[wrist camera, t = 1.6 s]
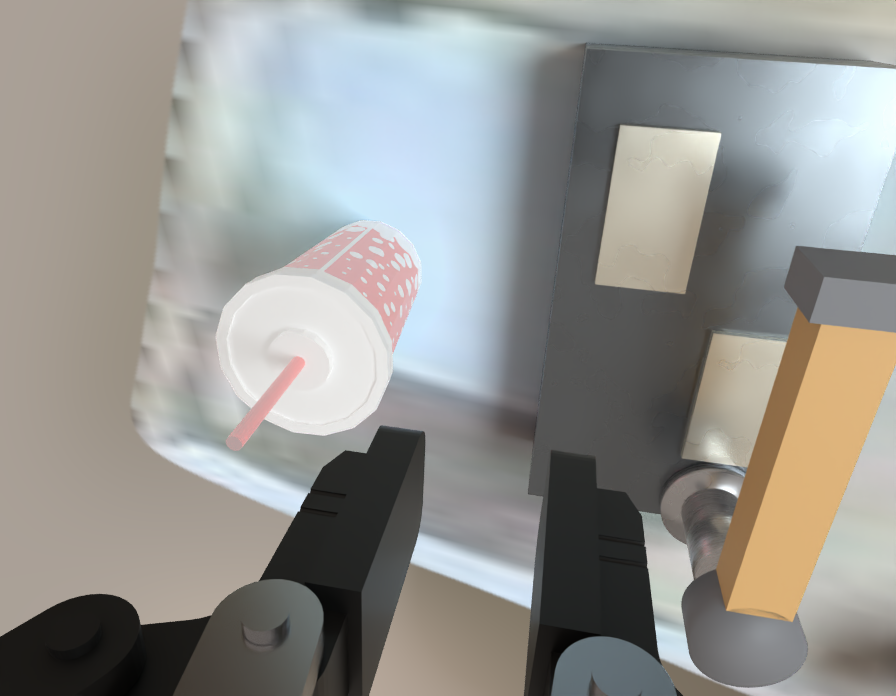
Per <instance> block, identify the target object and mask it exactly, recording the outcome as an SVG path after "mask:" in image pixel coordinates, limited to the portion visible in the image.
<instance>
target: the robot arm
mask: <svg viewBox="0 0 896 696" xmlns="http://www.w3.org/2000/svg"><path fill="white" fill-rule="evenodd" d="M424 461H425V433H424V431H417V430H410V429H403V428H396V427H389V426H380V427H379V429H378V431H377V433H376V435H375V437H374V439H373V441H372V443H371V445H370V447H369V449H368V451H367V453H359V452H353V451H346V450H345V451H344V452H343V453H341V454H340V455H339V456H337V457H336V458H335V459H333V460H332V461H331V462H329V463H328V464H327V465H325V466H324V467H323V468H322V470H321V472H320V473H319V475H318V477H317V479H316V480H315V482H314V484H313V486H312V488H311V491H310V493H308V495H307V496H306V498H305V500H304V502H303V504H302V505H301V509H300V512H298V513H297V514H296V516H295V518H294V520H293V521H292V523H291V525H290V527H289V529H288V531H287V532H286V534H285V536H284V537H283V539H282V541H281V543H280V545H279V546H278V548H277V550H276V552H275V554H274V555H273V557H272V559H271V561H270V563H269V564H268V566H267V568H266V570H265V571H264V573H263V575H262V577H261V578H260V580H259V581H258V582H254V583H251V584H248V585H245V586H243V587H241V588H239V589H237V590H236V591H234V592H233V593H231V594H230V595H228V596H227V597H226V598H225V599H224V600H223V601H222V602H221V603H220V604H219V605H218V606H217V607H216V609H215V610H214V612H213V614H212V615H211V616H207V617H204V618H199V619H193V620H186V621H175V622H166V623H155V624H147V625H141V624H140V620H139V616H138V614H137V611H136V609H135V608H134V607H133V606H132V604H130V603H129V602H127V601H126V600H124V599H122V598H120V597H117V596H113V595H107V594H90V595H85V596H79V597H76V598H72V599H69V600H66V601H64V602H61V603H59V604H57V605H55V606H53V607H51V608H49V609H47V610H45V611H44V612H42V613H40V614H38V615H37V616H35V617H33V618H32V619H30V620H28V621H27V622H25V623H23V624H21V625H20V626H18V627H16V628H15V629H13V630H11V631H9V632H8V633H6V634H4V635H3V636H1V637H0V696H369V693H370V690H371V687H372V684H373V680H374V677H375V674H376V671H377V667H378V664H379V661H380V658H381V654H382V651H383V647H384V645H385V641H386V638H387V635H388V632H389V629H390V625H391V622H392V619H393V616H394V612H395V609H396V606H397V603H398V599H399V596H400V593H401V590H402V586H403V583H404V580H405V577H406V573H407V570H408V567H409V564H410V560H411V557H412V554H413V551H414V547H415V544H416V541H417V537H418V533H419V528H420V522H421V515H422V506H423V484H424ZM644 544H645V539H644V530H643V522H642V516H641V514H640V513H639V511H638V510H637V508H636V507H635V505H634V504H633V502H632V501H631V499H630V498H629V496H628V495H627V493H626V492H620V491H614V490H607V489H600V488H597V476H596V457H595V456H591V455H584V454H577V453H570V452H563V451H556V450H550V455H549V461H548V468H547V475H546V482H545V489H544V495H543V502H542V509H541V516H540V523H539V530H538V539H537V547H536V557H535V568H534V580H533V592H532V604H531V617H530V628H529V629H530V630H529V641H528V652H527V665H526V676H525V677H526V678H525V690H524V696H683V695H682V694H681V693H680V692H679V691H678V690H677V689H676V688H675V686H674V684H673V682H672V680H671V678H670V677H669V675H668V673H667V672H666V671H665V669H664V668H663V667H662V664H661V661H660V658H659V654H658V648H657V640H656V631H655V623H654V614H653V606H652V598H651V589H650V581H649V572H648V568H647V556H646V547H644Z"/></svg>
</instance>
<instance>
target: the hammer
mask: <svg viewBox="0 0 896 696" xmlns="http://www.w3.org/2000/svg"><path fill="white" fill-rule="evenodd" d="M784 288H785V290H786V291H787V293H788V294H789V295H790V297H791V298H792V300H793V301H794V302H795V304H796V305H797V306H798V308H797V311H796V314H795V317H794V320H793V324H792V327H791V330H790V333H789V336H788V340H787V343H786V346H785V349H784V352H783V356H782V359H781V362H780V365H779V369H778V372H777V375H776V378H775V381H774V385H773V388H772V391H771V394H770V397H769V401H768V404H767V407H766V410H765V413H764V417H763V420H762V423H761V426H760V430H759V433H758V436H757V439H756V442H755V446H754V449H753V452H752V455H751V458H750V462H749V465H748V468H747V471H746V474H745V478H744V481H743V484H742V487H741V491H740V494H739V497H738V500H737V503H736V507H735V510H734V513H733V516H732V519H731V523H730V526H729V529H728V532H727V535H726V539H725V542H724V545H723V548H722V552H721V555H720V558H719V561H718V564H717V568H716V569H715V570H712V571H710V572H707V573H705V574H703V575H701V576H699V577H698V578H696V579H695V580H694V581H693V582H692V583H691V584H690V585H689V586H688V587H687V589H686V590H685V592H684V594H683V597H682V606H681V607H682V613H683V619H684V625H685V631H686V637H687V643H688V649H689V654H690V657H691V660H692V661H693V663H694V664H695V666H696V667H697V668H698V669H699V670H700V671H701V672H702V673H704V674H705V675H706V676H708V677H710V678H711V679H713V680H715V681H718V682H720V683H723V684H726V685H731V686H736V687H748V688H749V687H763V686H768V685H772V684H775V683H778V682H781V681H783V680H785V679H787V678H789V677H790V676H792V675H793V674H794V673H796V672H797V671H798V670H799V669H800V668H801V666H802V665H803V663H804V662H805V660H806V657H807V652H808V645H807V641H806V637H805V635H804V632H803V629H802V626H801V623H800V621H799V618H798V615H797V610H798V607H799V605H800V602H801V600H802V597H803V595H804V592H805V590H806V587H807V585H808V582H809V580H810V577H811V575H812V572H813V570H814V567H815V565H816V562H817V560H818V557H819V555H820V552H821V550H822V547H823V545H824V542H825V540H826V537H827V535H828V532H829V530H830V527H831V525H832V522H833V520H834V517H835V515H836V512H837V510H838V507H839V505H840V502H841V500H842V497H843V495H844V492H845V490H846V487H847V485H848V482H849V480H850V477H851V475H852V472H853V470H854V467H855V465H856V462H857V460H858V457H859V455H860V452H861V450H862V447H863V445H864V442H865V440H866V437H867V435H868V432H869V430H870V427H871V425H872V422H873V420H874V417H875V415H876V412H877V410H878V407H879V405H880V402H881V400H882V397H883V395H884V392H885V390H886V387H887V385H888V382H889V380H890V377H891V375H892V372H893V370H894V367H895V365H896V255H886V254H876V253H866V252H856V251H846V250H836V249H826V248H815V247H805V246H796V247H795V251H794V254H793V257H792V261H791V264H790V268H789V271H788V274H787V278H786V281H785V284H784Z"/></svg>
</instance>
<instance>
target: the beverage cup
mask: <svg viewBox="0 0 896 696" xmlns="http://www.w3.org/2000/svg"><path fill="white" fill-rule="evenodd" d="M420 284H421V261H420V259H419V257H418V254H417V252H416V250H415V247H414V245H413V244H412V243H411V242H410V241H409V240H408V239H407V238H406V237H405V236H404V235H403V234H402V233H401V231H400V230H398V229H396V228H394V227H392V226H389V225H387V224H385V223H383V222H381V221H367V220H360V221H357V222H354V223H352V224H349V225H346V226H343V227H342V228H340V229H339V230H337V231H336V232H334V233H333V234H331V235H330V236H329V237H327V238H326V239H324V240H323V241H321V242H320V243H318V244H317V245H315V246H314V247H312V248H311V249H309V250H308V251H306V252H305V253H303V254H302V255H301V256H299V257H298V258H296V259H295V260H293V261H292V262H290V263H289V264H287V265H286V266H284V267H283V268H280V269H277V270H274V271H272V272H269V273H266V274H263V275H260V276H258V277H255V278H254V279H253V280H252V281H250V282H247V283H246V284H245V285H244V286H243V287H242V288H241V289H240V290H239V291H238V292H237V293H236V294H235V295H234V297H233V298H232V299H231V300H230V301H229V302H228V303H227V304H226V305H225V306H224V307H223V310H222V314H221V318H220V321H219V325H218V328H217V332H216V335H215V337H216V343H217V350H218V356H219V362H220V367H221V369H222V371H223V373H224V374H225V376H226V378H227V380H228V381H229V383H230V385H231V387H232V388H233V390H234V392H235V393H236V395H237V396H238V397H239V398H240V399H241V400H242V401H243V402H244V403H246V404H247V405H248V406H249V407H250V408H251V410H250V411H249V412H248V413H247V415H246V416H245V417H244V418H243V419H242V421H241V422H240V423H239V424H238V426H237V427H236V428H235V429H234V430H233V432H232V433H231V434H230V435H229V437H228V438H227V439H226V445H227V446H228V447H229V448H230V449H231V450H234V451H238V450H240V449H241V448H242V447H243V446H244V444H245V443H246V442H247V440H248V439H249V438H250V437H251V435H252V434H253V433H254V431H255V430H256V429H257V427H258V426H259V425H260V424H261V422H262V421H263V420H264V419H265V420H267V421H269V422H271V423H274V424H276V425H278V426H280V427H282V428H284V429H287V430H289V431H291V432H296V433H305V434H314V435H323V436H325V435H329V434H333V433H336V432H340V431H344V430H348V429H352V428H354V427H356V426H357V425H358V424H359V423H360V422H362V421H363V420H364V419H365V418H367V417H368V416H369V415H370V414H372V413H373V412H374V411H375V410H376V409H377V407H378V405H379V403H380V401H381V398H382V396H383V394H384V392H385V389H386V387H387V385H388V383H389V380H390V377H391V375H392V373H393V357H392V354H393V352H394V349H395V347H396V344H397V342H398V339H399V337H400V334H401V332H402V329H403V327H404V324H405V322H406V319H407V317H408V314H409V312H410V309H411V307H412V304H413V302H414V299H415V297H416V294H417V292H418V289H419V287H420Z"/></svg>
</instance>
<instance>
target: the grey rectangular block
mask: <svg viewBox="0 0 896 696" xmlns="http://www.w3.org/2000/svg"><path fill="white" fill-rule="evenodd" d="M895 151H896V66H895V65H890V64H885V63H879V62H874V61H860V60H845V59H829V58H813V57H798V56H782V55H767V54H751V53H736V52H720V51H705V50H689V49H674V48H658V47H643V46H627V45H612V44H596V43H586V47H585V54H584V62H583V69H582V77H581V85H580V92H579V100H578V108H577V115H576V123H575V130H574V138H573V146H572V153H571V161H570V168H569V176H568V184H567V191H566V199H565V207H564V214H563V222H562V229H561V237H560V245H559V252H558V260H557V267H556V275H555V283H554V290H553V298H552V305H551V313H550V321H549V328H548V336H547V344H546V351H545V359H544V366H543V374H542V382H541V389H540V397H539V404H538V412H537V420H536V427H535V435H534V442H533V452H532V461H531V470H530V479H529V488H528V494H530V495H537V496H543V495H544V489H545V482H546V475H547V468H548V461H549V455H550V450H556V451H563V452H570V453H577V454H584V455H591V456H595V457H596V476H597V488H600V489H607V490H614V491H620V492H626V493H627V495H628V496H629V498H630V499H631V501H632V502H633V504H634V505H635V507H636V508H637V510H638V511H642V512H649V513H655V514H661V517H662V521H663V524H664V525H665V527H666V529H667V530H668V531H669V533H670V534H671V535H672V536H673V537H675V538H676V539H677V540H679V541H681V542H682V543H685V544H687V547H688V552H689V557H690V562H691V567H692V572H693V577H694V580H695V579H696V578H698V577H699V576H701V575H703V574H705V573H707V572H710V571H712V570H715V569H716V568H717V564H718V561H719V558H720V555H721V552H722V548H723V545H724V542H725V539H726V535H727V532H728V529H729V526H730V523H731V519H732V516H733V513H734V510H735V507H736V503H737V500H738V497H739V494H740V491H741V487H742V484H743V481H744V478H745V474H746V471H747V468H748V465H749V462H750V458H751V455H752V452H753V449H754V446H755V442H756V439H757V436H758V433H759V430H760V426H761V423H762V420H763V417H764V413H765V410H766V407H767V404H768V401H769V397H770V394H771V391H772V388H773V385H774V381H775V378H776V375H777V372H778V369H779V365H780V362H781V359H782V356H783V352H784V349H785V346H786V343H787V340H788V336H789V333H790V330H791V327H792V324H793V320H794V317H795V314H796V311H797V308H798V306H797V305H796V304H795V302H794V301H793V300H792V298H791V297H790V295H789V294H788V293H787V291H786V290H785V288H784V284H785V281H786V278H787V274H788V271H789V268H790V264H791V261H792V257H793V254H794V251H795V247H796V246H805V247H815V248H826V249H836V250H846V251H856V252H861V250H862V247H863V244H864V241H865V238H866V235H867V233H868V230H869V227H870V224H871V221H872V218H873V215H874V212H875V209H876V206H877V203H878V201H879V198H880V195H881V192H882V189H883V186H884V183H885V180H886V177H887V174H888V171H889V169H890V166H891V163H892V160H893V157H894V154H895Z"/></svg>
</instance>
